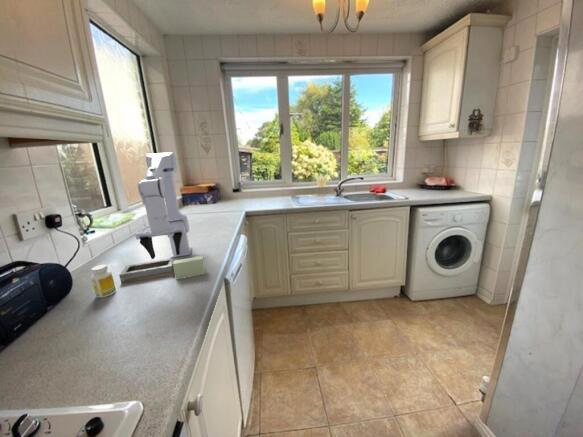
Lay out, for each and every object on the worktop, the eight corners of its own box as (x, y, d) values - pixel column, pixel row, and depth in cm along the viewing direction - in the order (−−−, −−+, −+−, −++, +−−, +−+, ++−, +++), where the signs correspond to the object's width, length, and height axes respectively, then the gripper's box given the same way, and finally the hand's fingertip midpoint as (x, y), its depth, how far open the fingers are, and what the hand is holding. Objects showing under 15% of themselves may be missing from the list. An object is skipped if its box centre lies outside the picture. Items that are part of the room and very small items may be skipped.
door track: (128, 273, 97) (126, 265, 96) (176, 265, 101) (174, 257, 100) (121, 283, 89) (119, 274, 89) (173, 274, 94) (171, 266, 93)
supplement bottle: (92, 299, 80) (84, 271, 78) (103, 290, 86) (95, 264, 83) (110, 297, 81) (102, 270, 78) (119, 288, 86) (112, 262, 84)
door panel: (177, 275, 93) (173, 260, 91) (205, 270, 95) (202, 255, 94) (175, 279, 90) (172, 263, 89) (205, 274, 93) (202, 258, 91)
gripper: (128, 223, 76) (138, 264, 79) (180, 216, 79) (187, 256, 83) (135, 217, 82) (144, 256, 86) (183, 211, 86) (189, 249, 89)
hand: (166, 255), depth 85 cm, fingers open, 7 cm apart
